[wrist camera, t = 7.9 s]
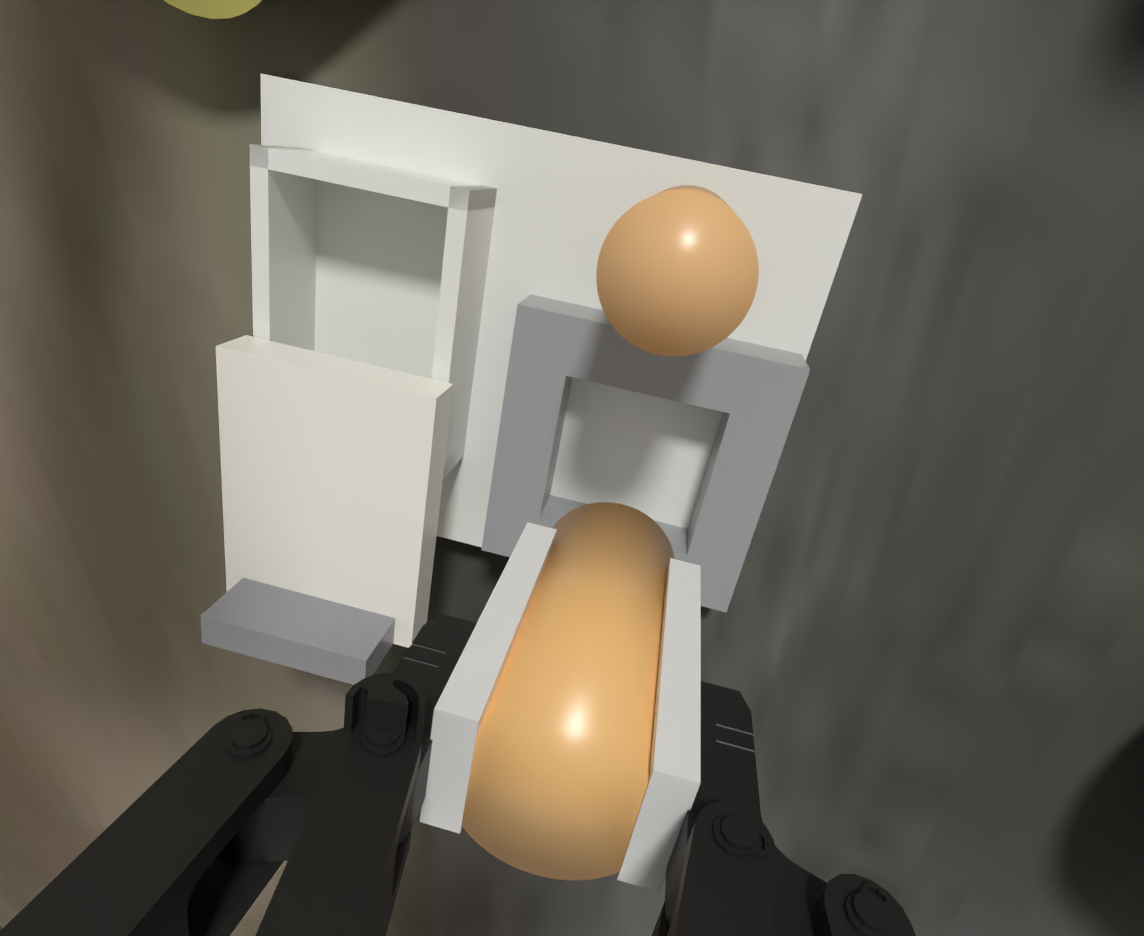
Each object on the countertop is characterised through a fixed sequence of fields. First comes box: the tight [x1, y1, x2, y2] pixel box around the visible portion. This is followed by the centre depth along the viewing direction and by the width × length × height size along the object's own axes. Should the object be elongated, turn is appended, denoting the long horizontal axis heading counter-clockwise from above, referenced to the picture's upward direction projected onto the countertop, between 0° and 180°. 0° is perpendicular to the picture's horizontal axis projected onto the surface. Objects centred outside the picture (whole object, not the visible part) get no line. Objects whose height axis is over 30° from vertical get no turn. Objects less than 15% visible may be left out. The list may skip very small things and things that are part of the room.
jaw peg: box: [462, 502, 674, 881], centre depth 15 cm, size 4×4×8 cm
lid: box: [200, 335, 453, 685], centre depth 23 cm, size 10×7×4 cm
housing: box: [249, 73, 862, 612], centre depth 22 cm, size 16×20×10 cm
